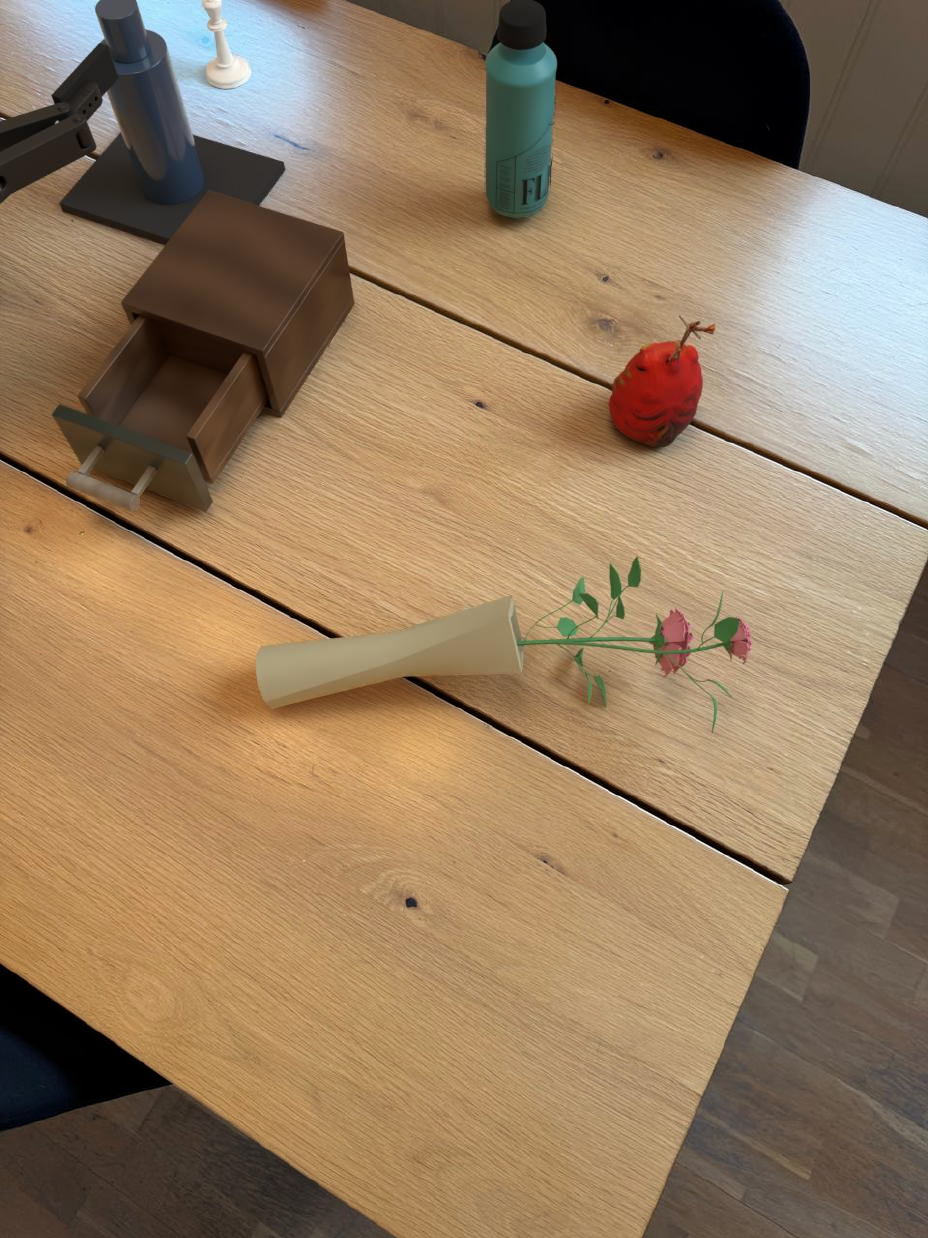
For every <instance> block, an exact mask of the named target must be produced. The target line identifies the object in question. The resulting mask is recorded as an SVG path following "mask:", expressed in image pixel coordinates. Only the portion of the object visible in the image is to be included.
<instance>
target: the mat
mask: <svg viewBox="0 0 928 1238" xmlns="http://www.w3.org/2000/svg"><path fill="white" fill-rule="evenodd" d="M192 135H193V138H194V141H195V145H196V148H197V152H198V155H199V159H200V162H201V166H202V169H203V173H204V176H205V183H204V186H203V188H202V189H201V191H200V192H199V193H198V194H197V195H196V196H195V197H193V198H192V199H190V200H188V201H186V202H183V203H179V204H174V205H163V204H158V203H155V202H153V201H151V200H149V199H148V198H147V197H146V196H145V195H144V194H143V192H142V189H141V187H140V184H139V181H138V178H137V175H136V173H135V170H134V167H133V164H132V162H131V159H130V156H129V153H128V150H127V148H126V145H125V142H124V139H123V137H122V134H121V131H120V132H119V133H118V134H117V135H116V137H114V139H113V140H112V141H111V142H110V143H109V145H108V146H107V147H106V148H105V149H104V151H102V153H101V154H100V155H99V157H97V158H96V160H95V161H94V162H93V163H92V164H91V165H90V167H89V168H88V169H87V170H86V172H84V173H83V175H82V176H81V177H80V178H79V179H78V181H77V182H76V183H75V184H74V185H73V186H72V188H70V189H69V190H68V192H67V193H66V194H65V196H63V198H62V199H61V200H60V201H59V202H58V204H59V207H60V208H61V211H62V212H64V213H68V214H70V215H74V216H77V217H80V218H83V219H85V220H89V221H92V222H95V223H98V224H101V225H104V226H106V227H107V226H108V227H111V228H113V229H116V230H119V231H122V232H125V233H129V234H132V235H135V236H138V237H141V238H144V239H147V240H150V241H153V242H156V243H159V244H162V245H164V246H165V245H166V244H167V243H168V241H169V240H170V239H171V238H172V236H173V235H174V234H175V232H176V231H177V230H178V229H179V227H180V226H181V225H182V224H183V222H184V221H185V220H186V218H187V217H188V216H189V215H190V213H191V212H192V211H193V209H194V208H195V207H196V206H197V204H198V203H199V202H200V201H201V199H202V198H203V197H204V195H205V194H206V193H207V192H208V190H210V191H213V192H216V193H219V194H223V195H226V196H229V197H232V198H235V199H239V200H242V201H245V202H248V203H252V204H255V205H258V206H260V205H261V204H262V203H263V201H264V200H265V198H266V197H267V196H268V195H269V193H270V192H271V190H272V189H273V187H274V186H275V185H276V184H277V182H278V181H279V179H280V178H281V177H282V175H283V174H284V173H285V171H286V166H285V161H282V160H279V159H276V158H273V157H269V156H266V155H262V154H260V153H255V152H252V151H249V150H246V149H242V148H239V147H235V146H232V145H229V144H226V143H222V142H220V141H216V140H213V139H210V138H206V137H203V136H199V135H196V134H193V133H192Z"/></svg>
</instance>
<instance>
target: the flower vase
mask: <svg viewBox="0 0 928 1238" xmlns="http://www.w3.org/2000/svg"><path fill="white" fill-rule="evenodd" d="M641 581H642V568H641V564H640V560H639V557H638V555H637V556H636V557H635V558H634V560H632V563H631V567H630V570H629V573H628V574H627V585H626V586H625V587H624V588H623V585H622V581H621V578H620V574H619V573H618V571H617V570H616V568H615V567H614V566H613V564H612V562H609V587H610V598H611V599H612V600H611V601H610V605H609V609H608V613H607V616H606V619H605V620H604V622H603V623H602V625H601V626H600V627H599V628H598V629H597V630H596V631H595V632H594V633H593V634H592V635H591V636H590V637H573V636H576V634H577V633H578V631H579V629H580V628H579V627H580V626H582V625H583V624H587V623H588V622H590V621H592V620H594V619H597V620H599V605H600V604H599V602H598V600H597V598H596V597H594V596H593V595H591V594H590V593H586V584H585V583H586V582H585V576H582V577H580V578H579V580H578V581H577V584H576V585H575V587H574V588H573V591H572V597H571V600H570V601H569V602H567V603H566V604H565V605H563V606H560V608H557V609H556V610H554V611H552V612H550V613H548V614H546V615H544V616H543V617H541V618H539V619H538V620H537V621H536V622H535V623H534V624H532V626H531V627H530V629H529V630H528V631H527V633H526V635H525V637H524V639H523V636H522V632H521V628H520V623H519V618H518V614H517V609H516V604H515V600H514V596H513V594H509V595H507V596H504V597H500V598H497V599H493V600H491V601H488V602H484V603H481V604H478V605H474V606H471V607H468V608H465V609H462V610H459V611H456V612H452V613H449V614H446V615H443V616H440V617H436V618H433V619H429V620H426V621H424V622H421V623H418V624H414V625H411V626H408V627H404V628H401V629H398V630H394V631H389V632H382V633H381V632H380V633H371V634H360V635H352V636H351V635H350V636H344V637H343V636H342V637H334V638H325V639H314V640H313V639H312V640H305V641H295V642H286V643H285V642H284V643H278V644H276V643H275V644H267V645H260V646H259V649H258V651H257V653H256V655H255V675H256V681H257V687H258V690H259V692H260V695H261V697H262V700H263V702H264V704H266V705H267V707H269V708H270V709H271V710H273V709H277V708H281V707H285V706H289V705H292V704H296V703H297V704H298V703H301V702H305V701H309V700H313V699H316V698H321V697H325V696H329V695H334V694H338V693H342V692H346V691H350V690H353V689H354V690H355V689H358V688H361V687H362V688H363V687H365V686H370V685H374V684H378V683H383V682H386V681H391V680H394V679H398V678H404V677H425V676H427V677H428V676H473V675H477V676H478V675H479V676H480V675H516V674H517V675H519V674H522V671H523V664H524V657H525V649H526V647H525V646H537V645H557V646H559V647H560V648H561V649H563V650H565V652H567V653H568V654H570V655H571V657H573V658H574V661H576V664H577V665H578V666H579V669H580V671H581V672H582V673H583V674H584V676H585V677H586V680H587V706H589V704H590V702H591V698H592V696H593V695H592V694H593V693H592V692H593V685H592V681H591V678H593V680H594V681H595V683H596V685H597V687H598V688H599V690H600V692H601V696H602V698H603V699H602V700H603V702H604V705H605V708H607V707H608V705H607V703H608V702H607V691H606V687H605V682H604V680H603V678H602V676H601V675H600V674H598V675H594V676H593V675H592V674H590V673H589V672H588V671H587V670H586V669H585V668H584V663H583V654H584V649H585V648H584V647H594V648H595V647H596V648H605V649H614V650H615V649H616V650H621V651H630V652H637V653H645V654H653V655H654V658H655V659H656V660H655V665H654V666H657V665H658V664H659V665H660V667H661V669H660V670H661V672H664V674H665V675H663V676H662V679H664V678H667V676H668V675H669V674H670V673H671V672H672V671H673V672H672V674H673V675H675V674H676V673H677V672H678V671H679V669H680V670H681V671H682V672H683V673H684V674H685V675H686V676H687V677H688V678H689V679H690V680H691V681H692V682H693V683H694V684H695V685H696V686H698V687H699V688H700V689H701V690H702V691H704V692H705V693H706V694H708V695H709V696H710V698H711V700H712V703H713V708H714V709H713V720H712V727H711V734H713V733H714V730H715V726H716V722H717V714H718V702H717V699H716V698H715V697H714V696H713V695H712V694H711V693H709V692H708V691H707V690H705V688H703V687H702V686H701V685H700V684H698V683H697V682H699V683H706V682H711V683H713V684H715V685H717V686H718V687H719V688H720V689H721V690H723V692H725V694H726V695H728V696H729V697H730V698H732V695H731V694H730V692H729V691H728V690H727V688H725V687H724V686H723V685H722V684H721V683H720V682H718V681H716V680H714V679H710V678H707V679H706V680H705V679H704V680H699V679H696V678H694V677H693V676H691V675H690V674H689V673H687V671H686V670H684V669H683V667H684V666H685V665H686V664H687V663H688V660H687V658H689V657H690V656H691V654H693V653H697V652H698V653H699V652H702V651H708V650H712V649H717V648H720V647H723V648H724V649H725V651H726V653H727V654H728V655H729V658H730V659H729V661H730V662H732V660H733V659H732V658H733V656H735V657H738V659H739V660H740V659H742V660H743V662H742V663H741V664H742V665H744V664H746V663H748V656H749V653H750V652H751V650H752V645H753V642H752V641H751V639H752V634H751V632H750V631H751V627H750V625H748V624H746V623H745V622H744V621H743V619H742V618H741V617H740V615H738V616H735V617H732V616H728V617H726V618H723V619H721V620H719V621H718V619H719V617H720V613H721V608H722V606H723V599H724V598H723V596H724V591H722V592H721V595H720V601H719V605H718V608H717V611H716V615H715V616H714V617H715V618H714V619H713V621H712V622H711V623H710V624H709V625H708V626H707V627H706V628H705V629H704V631H703V632H702V634H701V644H699V646H697V647H696V648H692V647H691V646H689V644H691V642H692V641H693V640H694V634H693V632H690V630H691V629H692V624H691V623H690V622H688V621H687V619H686V617H685V614H684V612H681V611H680V610H679V609H678V608H677V607H675V608H674V610H675V611H674V610H673V609H670V610H669V615H668V617H666V618H665V619H664V620H663V621H662V619H661V618H660V616H659V615H658V614H657V613H655V617H656V622H657V624H656V628H655V632H654V635H652V637H636V636H635V637H633V636H595V635H597V633H598V632H600V630H601V629H602V628H603V627H604V626H605V625H606V623H608V622H609V621H610V620H611V619H612V618H613V617H615V618H618V619H621V620H624V618H625V616H626V612H625V605H624V603H623V600H622V597H621V595H622V594H623V592H624V591H625V590H626V589H627V588H636V589H638V588H639V586H640V584H641ZM614 601H615V602H614ZM572 602H574V603H575V604H576V605H579V606H581V605H582V604H583V603H584V604H585V605H586V606H587V608H588V609H590V611H591V612H592V613H593V615H594V616H593V617H592V618H590V619H588V620H586V621H584V622H582V623H580V624H578V625H577V624H576V622H575V621H574V619H572V618H569V617H567V616H566V617H564V616H563V617H560V618H559V621H558V623H557V625H556V626H543V625H539V624H538V623H539V622H541V620H543V619H545V618H546V617H549V616H550V615H552V614H554V613H556V612H558V611H559V610H562V609H563V608H565V607H567V606H568V605H570V604H571V603H572ZM613 602H614V604H613ZM612 604H613V607H612ZM614 608H615V615H612V613H613V611H614ZM535 626H537V627H540V628H543V629H545V628H546V629H548V628H549V629H550V628H551V629H553V628H555V629H557V630H558V631H559V633H560V634H561V636H562V637H563V638H554V639H551V638H550V639H535V640H534V639H533V640H526V639H527V638H528V635H529V634H530V632H531V630H532V629H533V628H534V627H535ZM713 626H714V628H713V629H714V630H713V636H712V637H710V638H708V639H706V640H705V641H704V640H703V639H704V638H703V637H704V634H705V633H706V631H707V630H708V629H709V628H711V627H713ZM564 637H565V638H564ZM571 637H572V638H571ZM712 639H717V640H718V641H720V642H719V643H715V644H712V645H706V646H703V645H704V644H706V643H707V642H709V641H711V640H712ZM599 642H600V643H599ZM601 642H602V643H601ZM603 642H606V643H603ZM607 642H636V643H637V642H642V643H649V644H651V645H652V647H653V648H652V649H646V648H638V647H631V646H625V645H624V646H623V645H617V644H616V645H615V644H607ZM562 645H564V646H565V645H567V646H584V647H581V648H580V649H579V650H578V651H577V652H576V654H575V655H573V654H572V653H571V652H570V651H569V650H568V649H566V648H565V647H563V646H562Z"/></svg>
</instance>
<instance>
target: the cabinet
mask: <svg viewBox="0 0 928 1238" xmlns="http://www.w3.org/2000/svg"><path fill="white" fill-rule="evenodd" d="M120 304H121V306H122V309H123V311H124V313H125V316H126V317H127V320H128V322H129V324H130V326H131V325H132V324H133V322H134V321H135V320H136V318H137V317H138V316H139V315H142V316H145V317H148V318H151V319H154V320H157V321H160V322H163V323H165V324H168V325H171V326H174V327H177V328H180V329H183V330H186V331H189V332H192V333H195V334H197V335H200V336H203V337H206V338H209V339H212V340H215V341H218V342H221V343H224V344H227V345H229V346H232V347H235V348H238V349H241V350H244V351H247V352H250V353H253V354H256V355H257V358H258V362H259V365H260V369H261V372H262V375H263V379H264V382H265V386H266V389H267V393H268V396H269V400H268V402H267V403H266V405H265V406H264V408H263V409H262V411H261V412H264V413H266V414H269V415H273V416H275V417H279V418H283V416H284V414H285V413H286V411H287V410H288V408H289V406H290V405H291V403H292V402H293V400H294V399H295V397H296V395H297V394H298V393H299V391H300V390H301V388H302V386H303V385H304V383H305V382H306V380H307V379H308V377H309V375H310V374H311V372H312V371H313V369H314V368H315V366H316V364H318V361H319V360H320V358H321V357H322V355H323V354H324V353H325V351H326V350H327V348H328V346H329V345H330V343H331V342H332V340H333V338H334V337H335V335H336V334H337V333H338V331H339V329H340V327H341V326H342V324H343V323H344V321H345V320H346V318H347V317H348V315H349V313H350V312H351V311H352V309H353V307H354V306H355V298H354V291H353V285H352V280H351V272H350V266H349V259H348V253H347V246H346V239H345V232H344V231H342V230H338V229H335V228H332V227H329V226H325V225H322V224H319V223H316V222H313V221H309V220H306V219H303V218H299V217H296V216H293V215H290V214H287V213H283V212H280V211H278V210H274V209H271V208H267V207H264V206H262V205H261V206H260V205H259V206H258V205H255V204H252V203H248V202H245V201H242V200H239V199H235V198H232V197H229V196H226V195H223V194H219V193H216V192H213V191H210V190H208V192H207V193H206V194H205V195H204V197H203V198H202V199H201V201H200V202H199V203H198V204H197V206H196V207H195V208H194V209H193V211H192V212H191V213H190V215H189V216H188V217H187V218H186V220H185V221H184V222H183V224H182V225H181V226H180V227H179V229H178V230H177V231H176V232H175V234H174V235H173V236H172V238H171V239H170V240H169V241H168V243H167V244H166V245H165V244H164V246H163V248H162V249H161V250H160V252H159V253H158V254H157V255H156V257H155V258H154V259H153V260H152V262H150V264H149V266H148V267H147V268H146V269H145V271H144V272H143V273H142V275H141V276H140V277H139V278H138V280H137V281H136V283H135V284H134V285H133V286H132V287H131V289H130V290H129V291H128V292H127V294H125V296H124V297H123V299H122V300H121V302H120Z"/></svg>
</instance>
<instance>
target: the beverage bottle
mask: <svg viewBox="0 0 928 1238" xmlns="http://www.w3.org/2000/svg"><path fill="white" fill-rule="evenodd" d="M497 24H498V25H497V30H496V36H497V40H498V41H499V43H497V44H496V45H495V46H493V48H491V50H489V52H488V53H487V56H486V58H485V62H484V68H485V143H483V146H485V148H483V151H485V153H483V155H484V156H485V161H484V164H483V165H484V167H483V169H484V170H483V173H485V174H483V176H484V177H485V182H484V183H483V184H484V186H485V191H484V194H485V196H486V200H487V202H488V204H489V206H490V207H491V209H492V210H493V211H494V212H496V213H497V214H500V215H502V216H505V217H509V218H513V219H514V218H515V219H519V218H528V217H531V216H534V215H536V214H537V213H539V212H540V211H541V210H542V209H543V208H544V207H545V206H546V203H547V202H548V200H549V197H550V194H551V191H550V190H551V186H552V185H551V184H552V167H553V158H554V157H553V155H552V149H553V146H554V144H553V143H554V139H553V132H554V131H553V129H554V125H555V124H556V122H554V119H556V117H555V113H556V110H555V108H557V103H556V100H557V96H556V95H555V94H556V89H557V88H556V75H557V73H556V72H557V70H558V69H557V68H558V60H557V56H556V54H555V53H554V51H553V50H552V49H551V48H550V47H549V46H548V45H547V44H546V43H545V41H546V39H547V13H546V10H545V8H544V6H543V5H542V4H541V3H539V2H538V1H535V0H510V1H507V2H506V3H504V5H502V7H501V8H500V10H499V13H498V22H497Z"/></svg>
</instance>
